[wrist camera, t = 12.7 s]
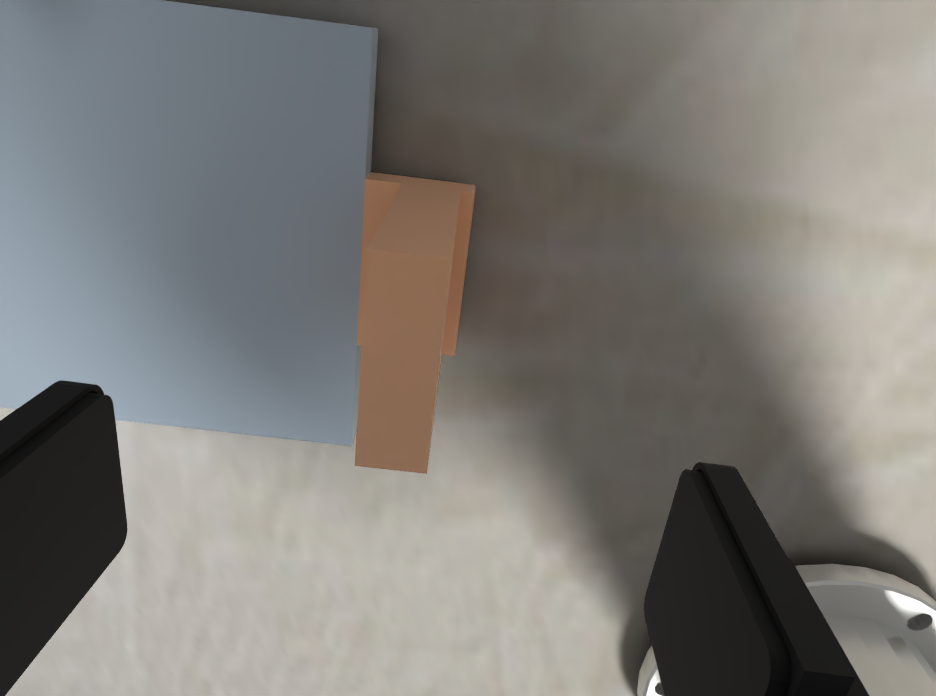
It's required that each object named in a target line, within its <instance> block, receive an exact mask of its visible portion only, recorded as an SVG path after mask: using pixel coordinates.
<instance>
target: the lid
mask: <svg viewBox="0 0 936 696" xmlns="http://www.w3.org/2000/svg"><path fill="white" fill-rule="evenodd" d="M378 30H379V28H373V27H365V26H357V25H350V24H342V23H335V22H327V21H319V20H312V19H304V18H297V17H289V16H281V15H274V14H266V13H259V12H251V11H243V10H236V9H228V8H220V7H213V6H205V5H198V4H190V3H182V2H175V1H167V0H0V407H4V408H13V409H18V408H19V407H21V406H22V405H23V404H25V403H26V402H28V401H29V400H31V399H32V398H33V397H35V396H36V395H38V394H39V393H41V392H42V391H43V390H45V389H46V388H48V387H49V386H51V385H52V384H53V383H55V382H57V381H59V380H62V381H72V382H80V383H88V384H95V385H98V386H100V387H101V389H102V390H103V392H104V395H108V396H110V397H111V399H112V401H113V406H114V414H115V420H121V421H130V422H139V423H148V424H157V425H166V426H175V427H184V428H193V429H202V430H211V431H220V432H229V433H238V434H247V435H257V436H266V437H275V438H284V439H293V440H302V441H311V442H320V443H329V444H338V445H347V446H352V443H353V440H354V437H355V434H356V431H357V436H356V454H355V466H363V467H372V468H381V469H390V470H399V471H408V472H417V473H426V474H427V467H428V460H429V452H430V444H431V436H432V429H433V421H434V413H435V405H436V397H437V390H438V382H439V374H440V366H441V359H442V355H450V356H455V352H456V344H457V336H458V328H459V320H460V312H461V304H462V296H463V288H464V279H465V271H466V263H467V255H468V247H469V239H470V231H471V223H472V215H473V206H474V198H475V187H476V185H471V184H463V183H455V182H447V181H439V180H431V179H423V178H415V177H407V176H399V175H391V174H383V173H375V172H371V160H372V141H373V123H374V104H375V86H376V67H377V48H378Z"/></svg>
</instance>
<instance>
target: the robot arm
mask: <svg viewBox="0 0 936 696" xmlns="http://www.w3.org/2000/svg"><path fill="white" fill-rule="evenodd" d="M126 535H127V520H126V511H125V502H124V494H123V485H122V476H121V467H120V458H119V450H118V441H117V432H116V423H115V414H114V406H113V401H112V399H111V397H110V396H108V395H104V392H103V390H102V389H101V387H100V386H98V385H95V384H88V383H80V382H72V381H62V380H59V381H57V382H55V383H53V384H52V385H51V386H49V387H48V388H46V389H45V390H43V391H42V392H41V393H39V394H38V395H36V396H35V397H33V398H32V399H31V400H29V401H28V402H26V403H25V404H23V405H22V406H21V407H19V408H18V409H16V410H15V411H14V412H12V413H11V414H9V415H8V416H6V417H5V418H4V419H2V420H1V421H0V696H5V695H6V694H7V692H8V691H9V690H10V689H11V687H12V686H13V685H14V684H15V682H16V681H17V680H18V679H19V677H20V676H21V675H22V674H23V672H24V671H25V670H26V669H27V667H28V666H29V665H30V664H31V662H32V661H33V660H34V658H35V657H36V656H37V655H38V653H39V652H40V651H41V650H42V648H43V647H44V646H45V645H46V643H47V642H48V641H49V640H50V638H51V637H52V636H53V635H54V633H55V632H56V631H57V630H58V628H59V627H60V626H61V625H62V623H63V622H64V621H65V620H66V618H67V617H68V616H69V614H70V613H71V612H72V611H73V609H74V608H75V607H76V606H77V604H78V603H79V602H80V601H81V599H82V598H83V597H84V596H85V594H86V593H87V592H88V591H89V589H90V588H91V587H92V586H93V584H94V583H95V582H96V581H97V579H98V578H99V577H100V575H101V574H102V573H103V572H104V570H105V569H106V568H107V567H108V565H109V564H110V563H111V562H112V560H113V559H114V558H115V557H116V555H117V554H118V553H119V552H120V550H121V548H122V547H123V545H124V542H125V539H126ZM644 612H645V620H646V624H647V628H648V632H649V636H650V640H651V644H652V646H651V647H650V648H649V650H648V651H647V654H646V656H645V659H644V661H643V664H642V666H641V669H640V671H639V679H638V687H637V695H638V696H936V601H935V600H934V599H933V598H931V597H930V596H929V595H928V594H926V593H925V592H924V591H923V590H921V589H920V588H919V587H917V586H915V585H913V584H911V583H909V582H907V581H905V580H903V579H901V578H899V577H897V576H895V575H892V574H888V573H885V572H881V571H877V570H874V569H870V568H866V567H859V566H849V565H840V564H818V565H797V566H795V565H794V564H793V563H792V562H791V560H790V559H789V558H788V557H787V556H786V555H785V553H784V551H783V549H782V548H781V546H780V544H779V542H778V541H777V539H776V537H775V535H774V533H773V532H772V530H771V528H770V526H769V525H768V523H767V521H766V519H765V518H764V516H763V514H762V512H761V511H760V509H759V507H758V505H757V504H756V502H755V500H754V498H753V497H752V495H751V493H750V491H749V490H748V488H747V486H746V484H745V483H744V481H743V479H742V477H741V476H740V474H739V472H738V470H737V469H736V468H735V467H732V466H725V465H717V464H709V463H701V462H699V463H697V464H696V465H695V466H694V467H693V470H684V471H683V472H682V474H681V476H680V479H679V483H678V486H677V489H676V493H675V496H674V500H673V503H672V506H671V510H670V513H669V517H668V520H667V524H666V527H665V530H664V534H663V537H662V541H661V544H660V547H659V551H658V554H657V558H656V561H655V564H654V568H653V571H652V575H651V578H650V582H649V585H648V588H647V592H646V596H645V603H644Z"/></svg>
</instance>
